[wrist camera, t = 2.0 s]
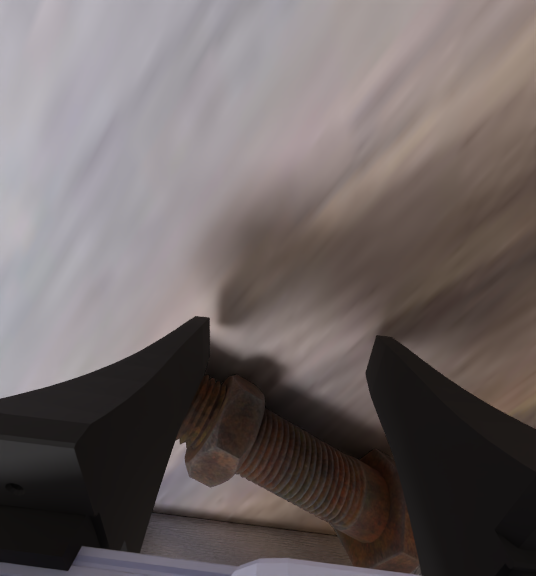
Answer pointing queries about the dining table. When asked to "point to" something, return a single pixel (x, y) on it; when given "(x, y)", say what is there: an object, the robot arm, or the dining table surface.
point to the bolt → (300, 472)
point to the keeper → (237, 542)
